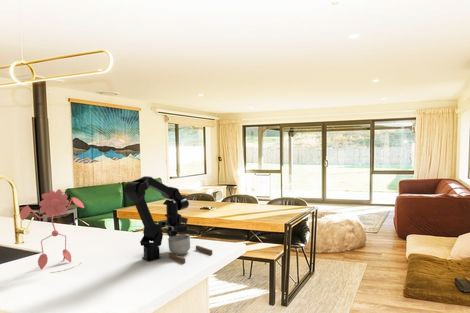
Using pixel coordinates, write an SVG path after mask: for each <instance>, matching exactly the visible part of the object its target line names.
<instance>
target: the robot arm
mask: <svg viewBox="0 0 470 313" xmlns="http://www.w3.org/2000/svg"><path fill="white" fill-rule="evenodd" d="M149 188H150V189H152V190H154V191H156V192H158V193H160V194H161V196H162V197H163V198H165V201H164V202H163V205H164V206H165V207H166V213H165V214H164V217H165V218H166V219H162V220H159V221H158V223H155V221H154V219H153V217H152V216H153V215H152V213H151V211H150V208H149V206H148V204H147V201H146V199H145V196H146V191H147V190H149ZM123 190H124V192H125V194H126V196H127V197H128V199H130V200H131V201H132V202H133V204H134V206H135V208H136V210H137V213H138V215H139V218H140V220H141V222H142V225H143V230H142V231H143V235H142V237H141V239H140V240H139V243H140V246H141V247H142V246H143V256H142V259H143V260H146V261H147V262H152V261H155V260H159V259H161V256H160V255H161V253H160V246H162V241H163V238H164V234H163V232H164V231H165V233H166V234H167V236H168V238H170V237H172V236H177V235H178V233H183V232H187V231H188V230H189V227H188V225H187V224H188V220H189V218H188V217H185V216H182V214H180V213H179V211H182V210H184V209H188V207H190V206H189V205H190V202H189V200H188V199H187V198H186V196H185V195H182V194H181V192H180V189H179V188H176V187H174V186H168V185H166V184H164V183H163V182H160V181H159V180H158V179H156V178H153V177H152V176H146V175H145V176H142V177H140V178H137V179H135V180H132V181H128V182H127V183H126V184H125V186H124V189H123ZM163 226H165V228H164V230H163V229H162V228H163Z"/></svg>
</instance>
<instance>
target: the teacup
mask: <svg viewBox="0 0 470 313" xmlns="http://www.w3.org/2000/svg"><path fill="white" fill-rule="evenodd" d="M167 241H168V242H167V243H168V248H169V253H172V254H175V255H178V256H181V255H185V254H186V253H188V252H189V250H190V249H191V236H190V234H188V233H186V234H177V235H176V236H172V237H170V238H169V237H168V238H167Z"/></svg>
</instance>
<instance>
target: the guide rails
mask: <svg viewBox="0 0 470 313" xmlns="http://www.w3.org/2000/svg"><path fill="white" fill-rule="evenodd" d="M195 251H198V252H200V253H201V252H202V253H205V254H207V255H213V249H209V248H208V247H204V246H201V245H197V244H196V245H195ZM168 258H169V259H171V260H174V261H177V262H179V263H182V264H186V258H185V257H183V256H181V255H175V254H173V253H171V252H169V253H168Z"/></svg>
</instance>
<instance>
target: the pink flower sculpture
mask: <svg viewBox="0 0 470 313" xmlns="http://www.w3.org/2000/svg"><path fill="white" fill-rule="evenodd" d="M41 198H42V199H43V200H41V201H40V202H39V203H38V205H39V206H40V209H39V213H41V214H42V213H43V214H44V213H45V215H42V216H39V215H38V214H37V213H36V212H35V211H34V210H33V209H32V208H30V206H29V205H26V206H24V207H23V208H22V209H21V210H20V212H19V217H20V219H21V221H24V220H25V219H26V218H28V217H29V215H30V214H31V213H33V215H35V217H37V218H38V219H42V218H45V217H47V218H51V224H52V227H53V231H52V232H51V235H49V236H47V237H45V238H43V239H41V240H40V244H41V251H42V254H40V255H39V257H38V259H37V265H38V266H39V267H38V268H40V270H43V269H44V268H45V266H47V263H48V259H49V257H48V254H46V253H44V247H43V241H44V240H46V239H49V238H50V237H52V236H53V237H57V236H58V235H59V236H62V237H64V239H65V240H64V241H65V242H64V244H65V245H64V249H62V255H63V259H62V261H63V262H64V261H65V260H66V261H68V262H72V254H71V252H70V251H69V250H68V249H67V235H65V234H62V233H59V231H58V230H56V227H55V224H54V216H55V217H59V216H60V215H61V214H67V212H68V210H69V208H70V205H71V204H72V202H73V204H74V205H75V206H77V208H78V207H79V208H81V209H85V205H84V203H83V202H82V201H81V200H80V199H79V198H77V197H73V196H71V198H70V200H67V199H68V195H67V194H66V193H64V194H63V190H61V189H60V188H59V189H57V190H56V191H55V190H49V192H48V193H47V192H46V193H42V194H41ZM66 206H67V207H66ZM80 264H82V262H80ZM73 268H74V266H73V267H70V268H67V269H64V270H61V272H63V271H64V272H65V271H68V270H70V269H73ZM59 272H60V270H58V271H57V273H59ZM51 273H53V274H54V273H55V271H51V272H50V274H51Z"/></svg>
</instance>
